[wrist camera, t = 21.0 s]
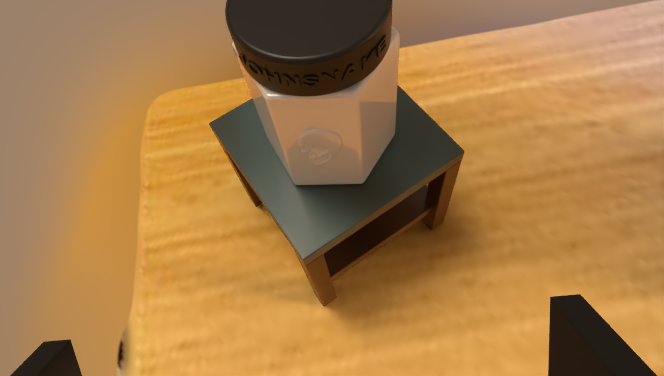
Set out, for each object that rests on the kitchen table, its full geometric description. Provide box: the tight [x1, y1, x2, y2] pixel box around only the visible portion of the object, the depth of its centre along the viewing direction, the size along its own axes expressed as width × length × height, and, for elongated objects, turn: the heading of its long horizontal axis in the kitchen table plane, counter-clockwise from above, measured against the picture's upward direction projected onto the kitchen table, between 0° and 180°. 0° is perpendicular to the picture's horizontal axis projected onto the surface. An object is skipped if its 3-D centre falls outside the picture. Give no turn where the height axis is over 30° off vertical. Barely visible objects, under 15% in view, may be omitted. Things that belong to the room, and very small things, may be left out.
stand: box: [209, 85, 464, 306], centre depth 38 cm, size 13×13×12 cm
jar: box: [225, 0, 400, 185], centre depth 28 cm, size 9×8×12 cm
